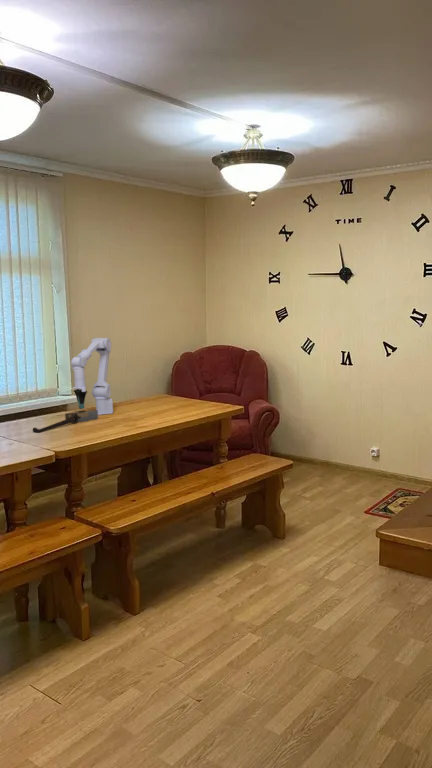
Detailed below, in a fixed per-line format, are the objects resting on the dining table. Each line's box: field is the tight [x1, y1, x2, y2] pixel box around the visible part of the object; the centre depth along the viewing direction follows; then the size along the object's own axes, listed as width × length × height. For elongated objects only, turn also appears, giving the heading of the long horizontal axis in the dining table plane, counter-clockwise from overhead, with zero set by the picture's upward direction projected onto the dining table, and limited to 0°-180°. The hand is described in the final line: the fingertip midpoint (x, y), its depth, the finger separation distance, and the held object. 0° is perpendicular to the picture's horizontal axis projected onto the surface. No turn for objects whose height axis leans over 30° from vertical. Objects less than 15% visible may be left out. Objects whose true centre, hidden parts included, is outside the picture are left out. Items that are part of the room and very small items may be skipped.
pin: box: [77, 390, 85, 410], centre depth 343 cm, size 4×4×10 cm
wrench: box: [32, 414, 81, 434], centre depth 330 cm, size 5×5×30 cm
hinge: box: [64, 409, 99, 423], centre depth 345 cm, size 18×6×5 cm, turn 117°
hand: (81, 403), depth 344 cm, fingers closed on pin, 3 cm apart
